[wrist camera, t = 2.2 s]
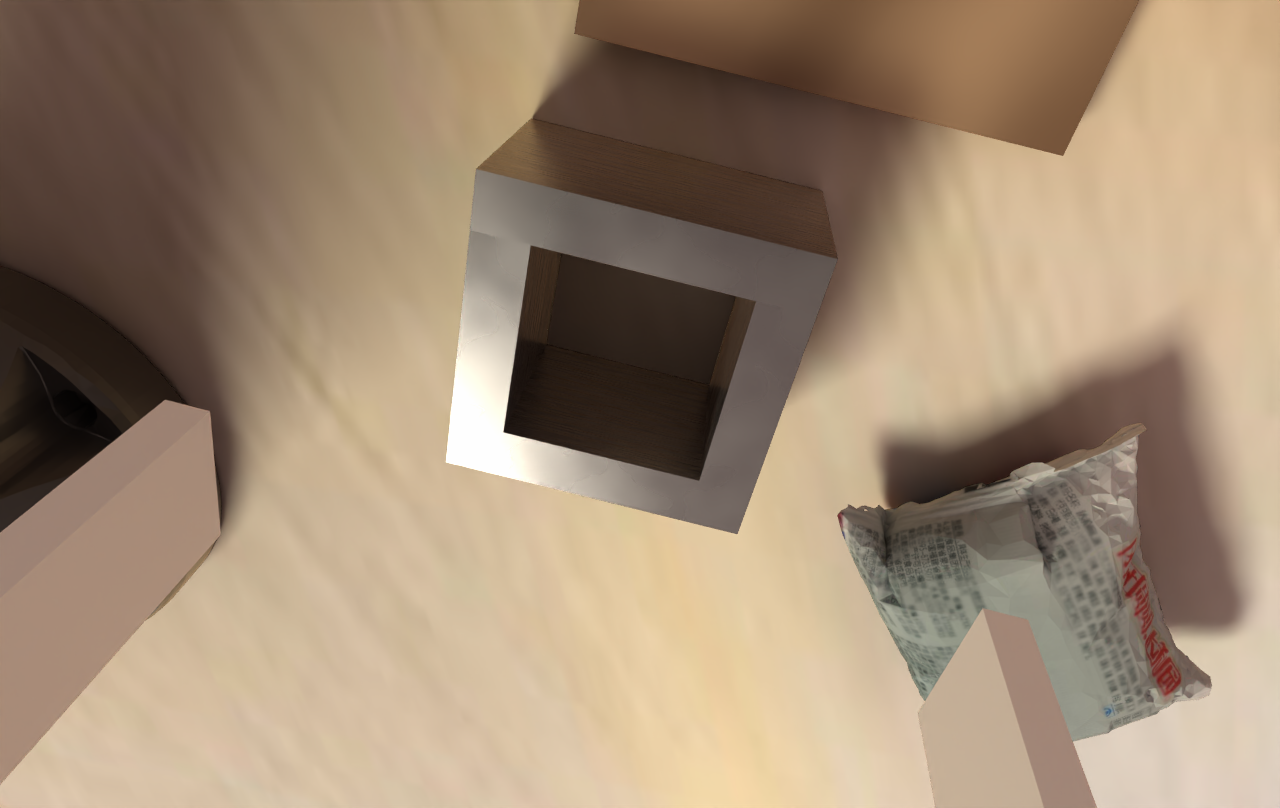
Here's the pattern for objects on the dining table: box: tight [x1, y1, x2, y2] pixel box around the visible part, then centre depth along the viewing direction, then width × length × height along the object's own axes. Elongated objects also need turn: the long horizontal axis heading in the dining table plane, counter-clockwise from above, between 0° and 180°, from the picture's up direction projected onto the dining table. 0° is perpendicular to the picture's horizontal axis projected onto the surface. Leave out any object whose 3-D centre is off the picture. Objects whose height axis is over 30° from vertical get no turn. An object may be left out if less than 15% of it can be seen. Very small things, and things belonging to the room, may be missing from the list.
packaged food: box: [838, 423, 1212, 741], centre depth 26 cm, size 9×12×5 cm
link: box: [446, 119, 838, 534], centre depth 22 cm, size 8×8×5 cm
